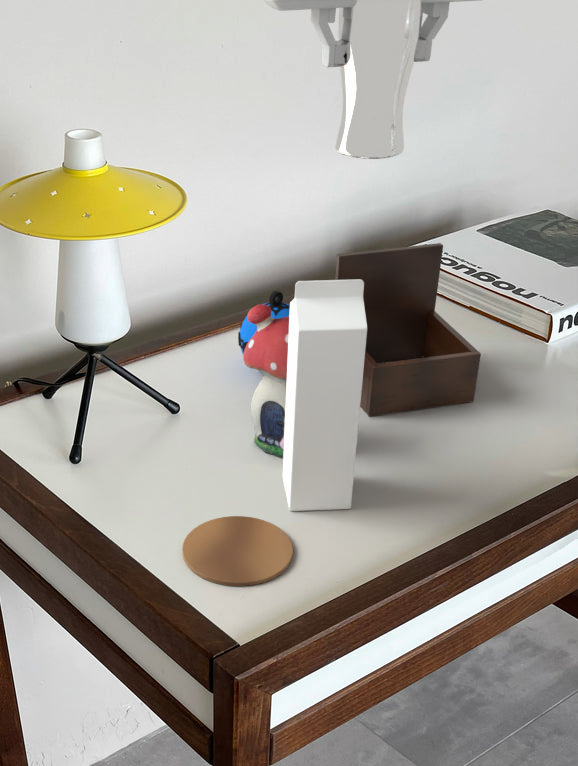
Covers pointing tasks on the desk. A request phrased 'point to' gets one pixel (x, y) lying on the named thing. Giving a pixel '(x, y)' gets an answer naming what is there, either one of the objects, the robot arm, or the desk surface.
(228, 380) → the desk surface
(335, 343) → the milk
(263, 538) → the coaster
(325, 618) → the desk surface
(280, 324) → the decorative ornament
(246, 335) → the ornament
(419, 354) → the cubby
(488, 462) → the desk surface
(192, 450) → the desk surface
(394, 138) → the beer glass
